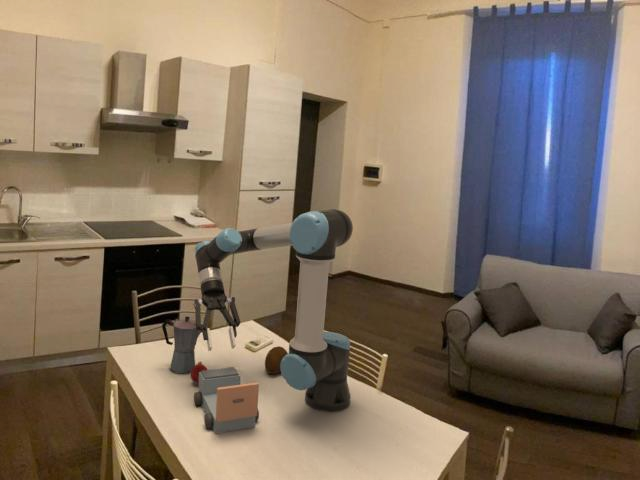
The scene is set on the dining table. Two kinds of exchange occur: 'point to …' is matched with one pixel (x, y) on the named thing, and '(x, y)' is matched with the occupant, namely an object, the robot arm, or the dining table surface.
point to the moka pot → (182, 344)
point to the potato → (274, 359)
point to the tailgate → (237, 402)
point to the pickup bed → (208, 398)
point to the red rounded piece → (197, 371)
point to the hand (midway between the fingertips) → (222, 347)
